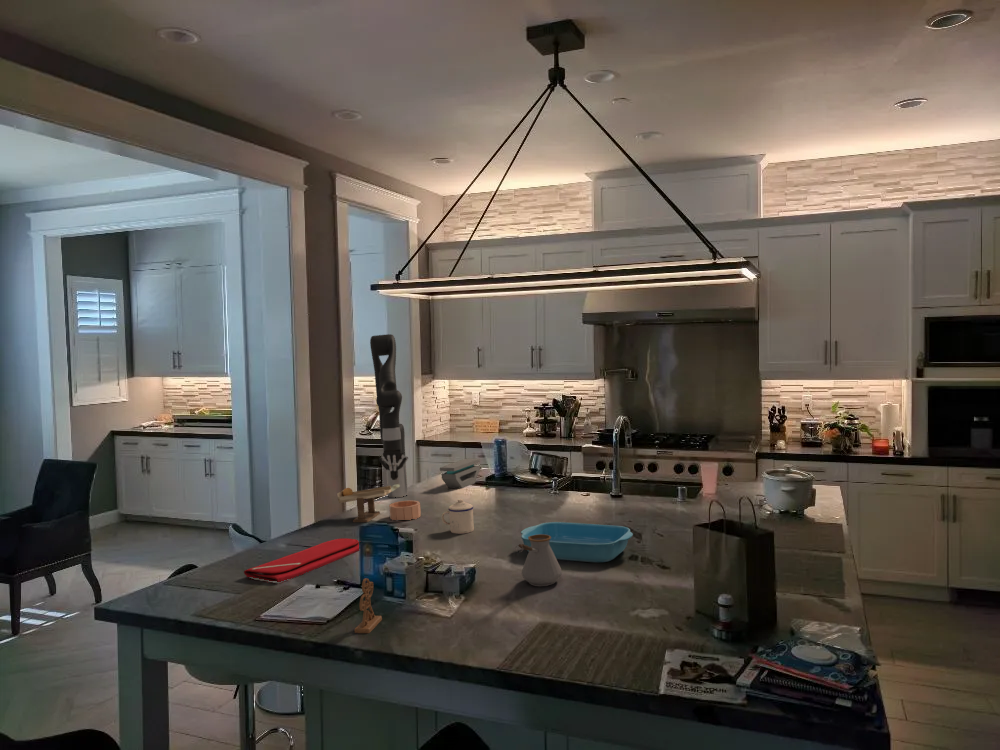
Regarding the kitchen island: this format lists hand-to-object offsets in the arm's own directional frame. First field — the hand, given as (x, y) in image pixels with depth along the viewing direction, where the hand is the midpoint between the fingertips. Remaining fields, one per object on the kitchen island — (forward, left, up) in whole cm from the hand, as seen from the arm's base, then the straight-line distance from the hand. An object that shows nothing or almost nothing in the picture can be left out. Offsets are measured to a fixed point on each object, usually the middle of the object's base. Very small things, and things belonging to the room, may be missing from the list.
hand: (394, 479), depth 310 cm
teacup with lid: (+32, +35, -14) cm, 49 cm away
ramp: (+6, -9, -5) cm, 12 cm away
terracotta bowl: (+11, +7, -13) cm, 19 cm away
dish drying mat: (+69, -6, -14) cm, 71 cm away
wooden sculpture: (+121, +35, -14) cm, 127 cm away
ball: (+11, -17, -3) cm, 20 cm away
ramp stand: (+11, -9, -13) cm, 19 cm away
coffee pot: (+92, +73, -14) cm, 118 cm away
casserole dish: (+59, +81, -14) cm, 101 cm away
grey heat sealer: (-51, +15, -14) cm, 55 cm away
